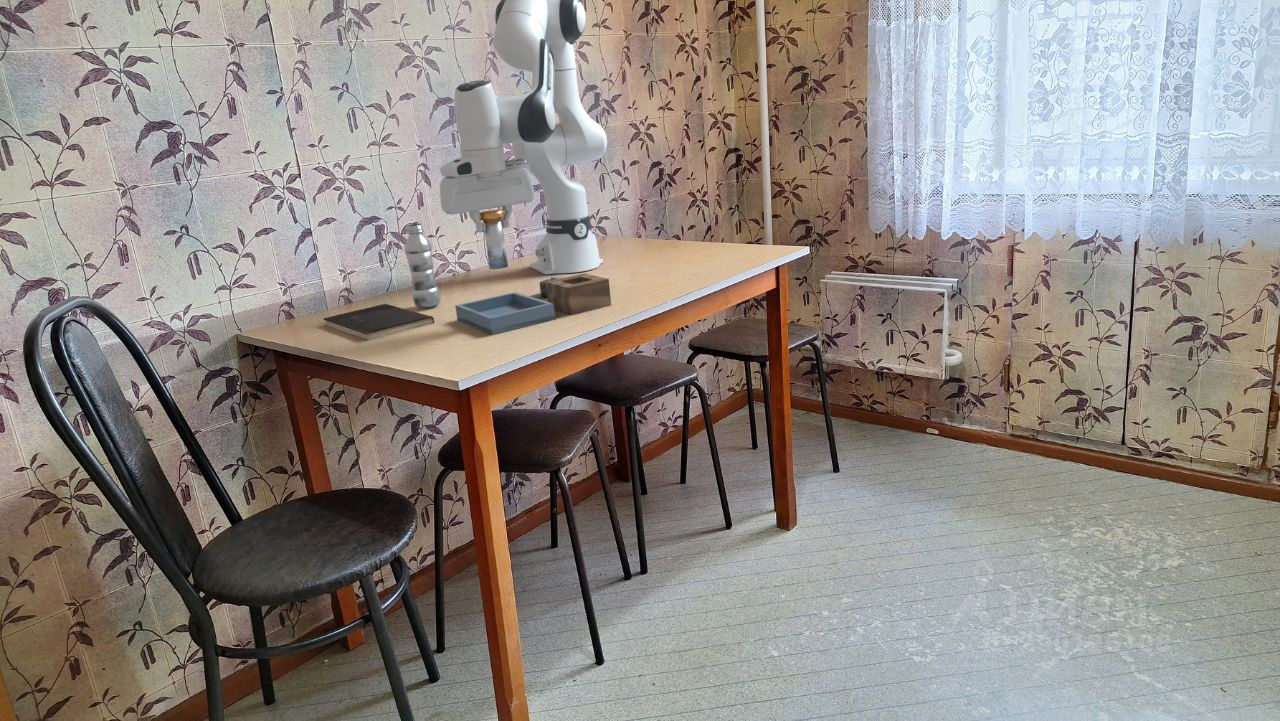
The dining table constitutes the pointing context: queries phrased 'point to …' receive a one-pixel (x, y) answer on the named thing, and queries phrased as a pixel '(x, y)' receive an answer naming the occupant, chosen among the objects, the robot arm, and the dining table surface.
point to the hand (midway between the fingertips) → (493, 229)
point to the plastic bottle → (421, 267)
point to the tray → (505, 312)
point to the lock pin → (494, 238)
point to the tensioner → (575, 293)
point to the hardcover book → (378, 321)
